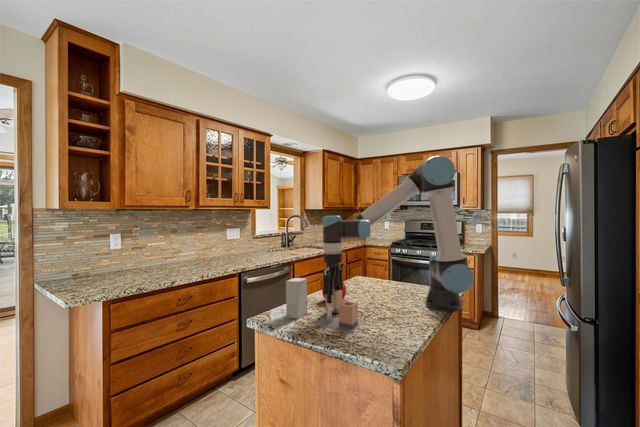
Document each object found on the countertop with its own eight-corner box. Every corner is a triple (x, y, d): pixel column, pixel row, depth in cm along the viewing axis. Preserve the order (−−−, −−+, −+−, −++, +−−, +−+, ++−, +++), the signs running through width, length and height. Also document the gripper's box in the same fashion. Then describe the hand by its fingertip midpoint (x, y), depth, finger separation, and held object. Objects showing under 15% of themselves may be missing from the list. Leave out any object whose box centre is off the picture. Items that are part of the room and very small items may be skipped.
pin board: (364, 324, 116) (364, 309, 116) (352, 334, 107) (351, 318, 107) (327, 316, 125) (327, 303, 125) (313, 325, 115) (312, 310, 115)
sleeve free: (342, 309, 129) (342, 290, 129) (336, 313, 125) (336, 293, 125) (331, 307, 132) (331, 289, 132) (325, 311, 127) (325, 292, 127)
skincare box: (298, 319, 122) (298, 282, 122) (285, 317, 124) (285, 280, 124) (307, 313, 130) (307, 277, 130) (295, 311, 132) (294, 276, 132)
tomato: (323, 297, 153) (323, 276, 153) (346, 297, 152) (346, 277, 152) (321, 304, 141) (320, 282, 141) (346, 305, 140) (346, 282, 140)
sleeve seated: (357, 324, 115) (357, 302, 115) (351, 329, 110) (351, 306, 110) (345, 321, 117) (345, 300, 117) (339, 326, 113) (338, 304, 113)
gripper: (335, 249, 138) (336, 301, 138) (313, 255, 122) (314, 313, 122) (350, 250, 134) (351, 303, 134) (329, 256, 118) (331, 316, 119)
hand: (334, 308), depth 128 cm, fingers closed on sleeve free, 5 cm apart
